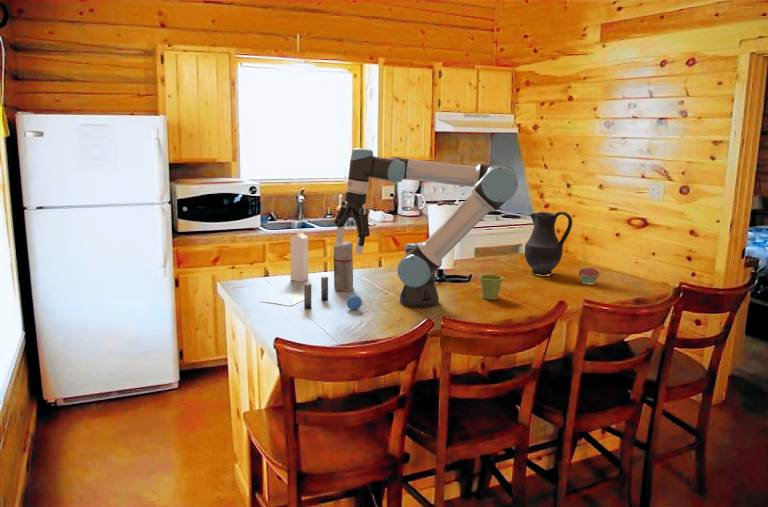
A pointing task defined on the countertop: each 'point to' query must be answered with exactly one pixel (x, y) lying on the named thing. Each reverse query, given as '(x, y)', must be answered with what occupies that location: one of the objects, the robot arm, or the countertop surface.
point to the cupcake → (588, 274)
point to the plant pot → (490, 286)
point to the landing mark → (297, 299)
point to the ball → (354, 302)
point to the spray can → (343, 266)
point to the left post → (307, 296)
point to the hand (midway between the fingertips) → (348, 249)
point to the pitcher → (545, 243)
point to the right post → (324, 288)
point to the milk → (299, 256)
